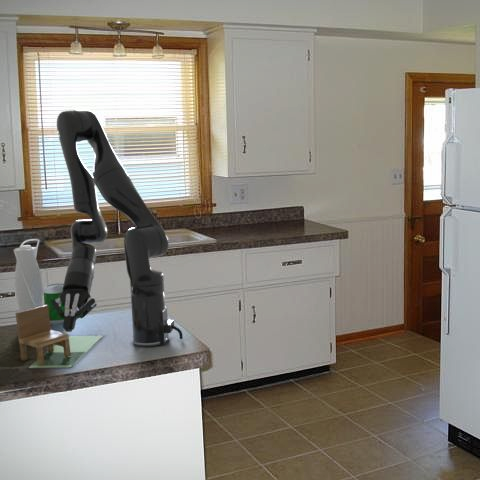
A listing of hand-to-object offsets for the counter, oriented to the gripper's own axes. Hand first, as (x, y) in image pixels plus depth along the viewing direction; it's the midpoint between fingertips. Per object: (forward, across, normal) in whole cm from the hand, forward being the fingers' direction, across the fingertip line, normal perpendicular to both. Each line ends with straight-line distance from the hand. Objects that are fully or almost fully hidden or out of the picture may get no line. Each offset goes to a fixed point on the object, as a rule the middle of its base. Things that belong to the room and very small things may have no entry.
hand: (68, 330), depth 200 cm
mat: (+5, 0, +3) cm, 6 cm away
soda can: (-16, -13, +24) cm, 32 cm away
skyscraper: (-9, -17, +17) cm, 26 cm away
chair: (+9, -4, -1) cm, 10 cm away
